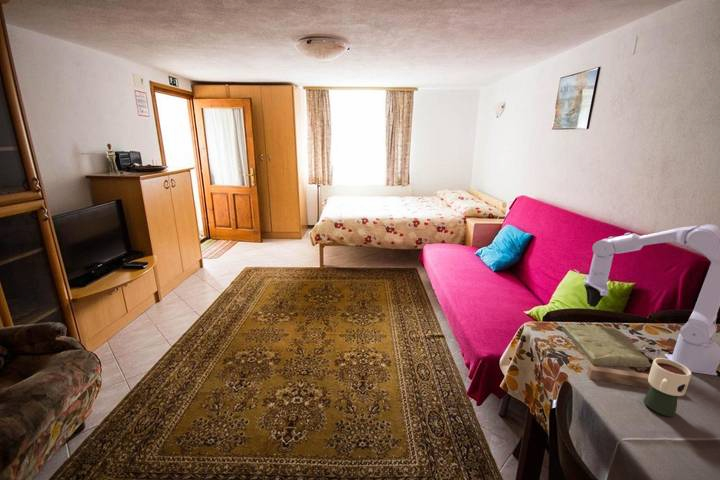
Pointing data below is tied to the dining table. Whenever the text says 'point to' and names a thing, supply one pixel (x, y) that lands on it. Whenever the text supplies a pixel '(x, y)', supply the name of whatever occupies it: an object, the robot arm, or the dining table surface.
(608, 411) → the dining table surface
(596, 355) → the decorative tile
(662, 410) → the character mug
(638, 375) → the rail
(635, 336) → the dining table surface
